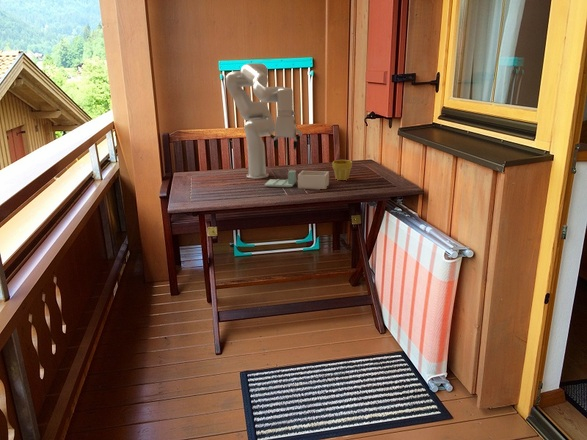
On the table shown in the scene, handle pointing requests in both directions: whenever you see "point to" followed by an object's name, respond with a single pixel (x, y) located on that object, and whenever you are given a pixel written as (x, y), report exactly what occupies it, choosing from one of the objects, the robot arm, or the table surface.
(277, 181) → the lid
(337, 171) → the plant pot
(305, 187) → the tub
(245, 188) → the table surface
